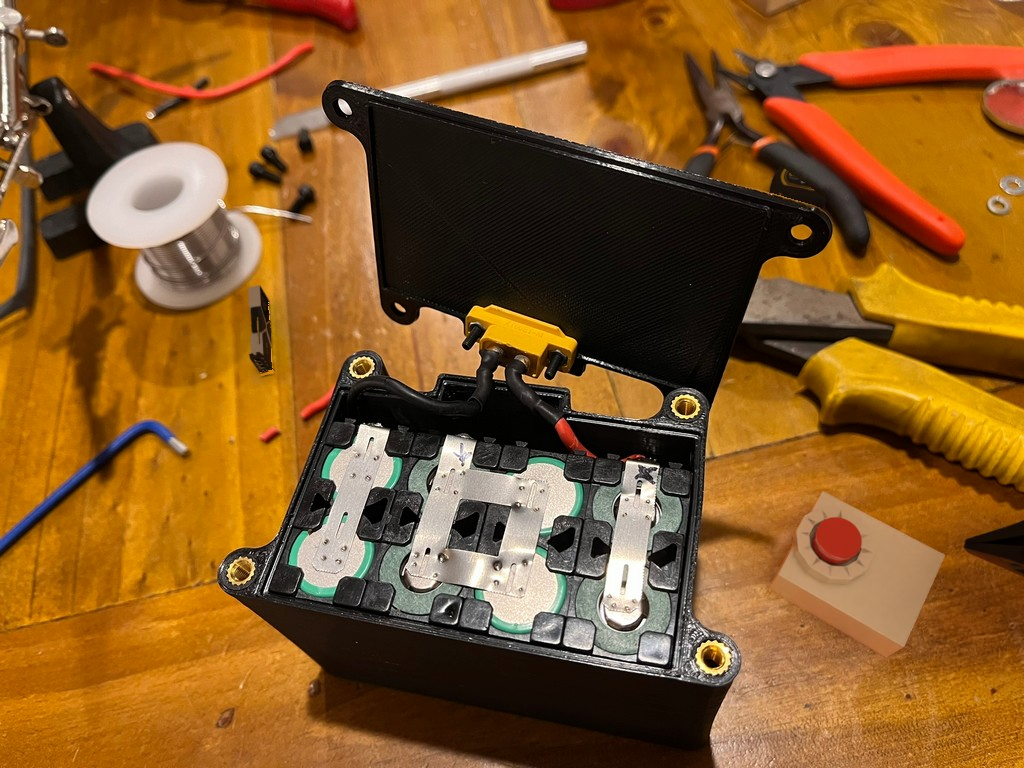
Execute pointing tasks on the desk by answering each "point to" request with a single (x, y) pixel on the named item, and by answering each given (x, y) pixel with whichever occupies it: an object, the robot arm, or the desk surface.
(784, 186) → the tape measure
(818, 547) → the red button
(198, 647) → the desk surface
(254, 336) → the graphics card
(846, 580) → the switch block
